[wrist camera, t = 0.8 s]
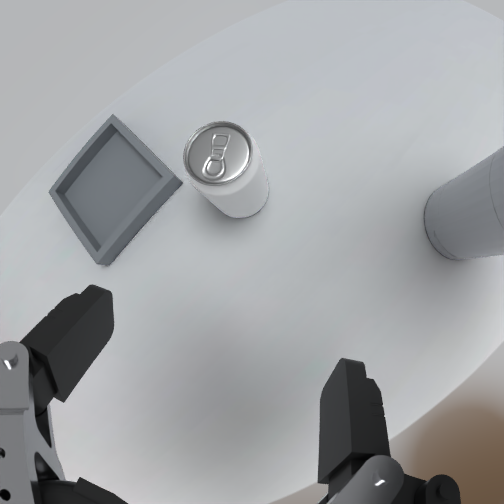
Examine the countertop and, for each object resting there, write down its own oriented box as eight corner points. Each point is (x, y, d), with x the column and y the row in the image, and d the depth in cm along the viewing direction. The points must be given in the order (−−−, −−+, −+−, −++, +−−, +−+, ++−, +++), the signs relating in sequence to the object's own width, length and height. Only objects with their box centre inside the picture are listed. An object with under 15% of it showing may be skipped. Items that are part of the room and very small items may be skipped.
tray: (123, 123, 38) (112, 113, 35) (183, 182, 36) (174, 175, 33) (61, 196, 39) (48, 191, 36) (109, 265, 37) (96, 264, 34)
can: (209, 215, 36) (170, 187, 24) (219, 162, 36) (187, 115, 24) (264, 222, 35) (251, 195, 23) (273, 168, 35) (263, 119, 23)
